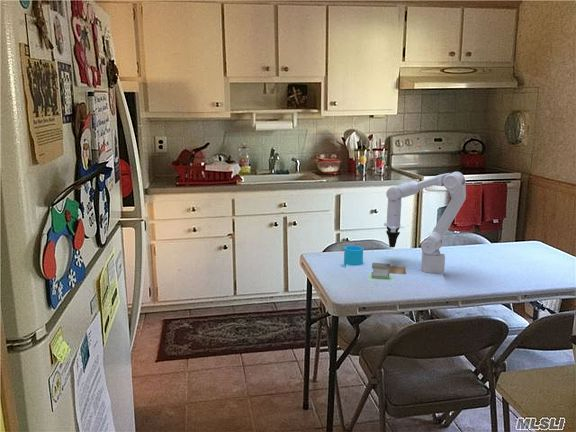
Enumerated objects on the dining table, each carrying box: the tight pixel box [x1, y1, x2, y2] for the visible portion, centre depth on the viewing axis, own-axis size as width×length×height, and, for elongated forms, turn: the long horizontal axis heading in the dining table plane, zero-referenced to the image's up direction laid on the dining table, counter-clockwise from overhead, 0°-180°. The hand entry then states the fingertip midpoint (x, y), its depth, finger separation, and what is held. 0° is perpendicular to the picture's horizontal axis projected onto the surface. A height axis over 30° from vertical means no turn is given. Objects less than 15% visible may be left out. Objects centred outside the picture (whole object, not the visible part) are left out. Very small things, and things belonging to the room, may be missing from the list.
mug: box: [343, 245, 364, 268], centre depth 228 cm, size 12×8×8 cm
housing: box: [371, 262, 391, 279], centre depth 207 cm, size 7×4×5 cm, turn 79°
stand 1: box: [367, 272, 395, 287], centre depth 208 cm, size 10×10×2 cm
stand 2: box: [388, 265, 407, 275], centre depth 217 cm, size 10×10×2 cm
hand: (392, 244), depth 224 cm, fingers open, 7 cm apart
